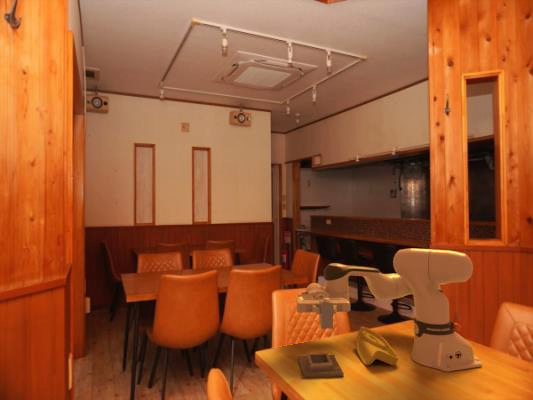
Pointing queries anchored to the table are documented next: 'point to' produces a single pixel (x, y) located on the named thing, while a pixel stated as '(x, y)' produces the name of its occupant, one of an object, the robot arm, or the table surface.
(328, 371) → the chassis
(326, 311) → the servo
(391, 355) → the plastic component
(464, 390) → the table surface
